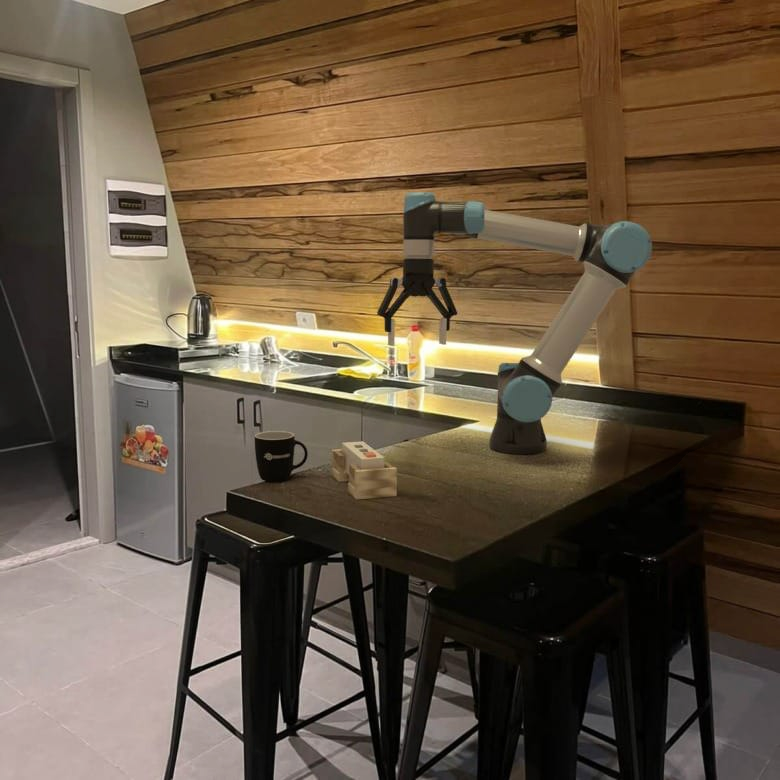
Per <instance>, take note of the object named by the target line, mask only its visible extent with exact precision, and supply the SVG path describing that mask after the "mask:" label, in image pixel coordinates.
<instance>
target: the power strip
mask: <svg viewBox="0 0 780 780" xmlns="http://www.w3.org/2000/svg"><path fill="white" fill-rule="evenodd" d="M341 449H342V454H343V455H344V471H345V472H346V473H348V474H349V465H350V464H354V465H355V466H356V467H357V468H359V469H360V470H367V469H380V468H384V462H385V456H384V455H382V454H380V453H379V452H378V451H376V450H375V449H374V448H372V447H371V446H369V445H368V444H367V443H366V442H365V441H363V440H362V441H349V442H346V441H345V442H341Z"/></svg>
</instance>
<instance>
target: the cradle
mask: <svg viewBox="0 0 780 780" xmlns="http://www.w3.org/2000/svg"><path fill="white" fill-rule="evenodd" d="M331 476H332V477H333V478H334V479H335V480H336V481H337V482H338V483H341V482H347V493H349V495H351V496H352V497H353V498H354V499H355V500H356V501H357V500H366V499H367V500H368V499H376V498H378V499H379V498H388V497H389V498H391V497H397V494H398V492H397V491H398V490H397V488H398V485H397V484H398V482H397V481H398V468H397V467H395V466H393V465H391V463H389V462H388V461H384V468H380V469H367V470H360V469H359V468H357V467H356V466H355V465H354V464H350V465H349V474H348V473H346V472H345V471H344V455H343V454H342V448H339V449H331Z"/></svg>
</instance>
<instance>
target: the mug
mask: <svg viewBox="0 0 780 780" xmlns="http://www.w3.org/2000/svg"><path fill="white" fill-rule="evenodd" d="M296 445H299V446H300V447H302V449H303V451H304V456H303V459H302V460H301V461H300V462H299V463H297V464H294V457H295V447H296ZM254 451H255V460H256V461H255V462H256V468H257V471H258V475H259V477H260V480H262V481H264V482H267V481H268V483H279V482H285V481H287V480H289V479H290V477H291V474H292V472H293V471H294V470H296V469H299V468H300V467H302V466H303V465H305V463H306V462H307V460H308V454H309V453H308V449H307V447H306V445H305V444H304V443H303V442H301V441H299V440H297V439H295V433H293V432H289V431H284V430H283V431H282V430H268V431H262V432H261V431H260V432H258V433H256V434H255V435H254Z"/></svg>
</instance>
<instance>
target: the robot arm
mask: <svg viewBox="0 0 780 780" xmlns="http://www.w3.org/2000/svg"><path fill="white" fill-rule="evenodd" d="M403 200H404V201H403V213H402V214H403V225H402V226H403V242H402V243H403V245H402V246H403V247H402V248H403V249H402V253H403V254H402V255H403V256H404V257H405V258H403V261H402V278H398V277H391V278H390V280H389V287H388V289H387V292H386V293H385V295H384V297H383V299H382V302H381V304H380V306H379V307H378V309H377V312H376V314H377V316H379V317H381V318H383V319H384V331H385V333H386V332H387V345H388V346H390V347H394V346H395V343H396V342H395V339H396V338H395V335H396V334H395V331H396V329H395V327H396V326H395V325H396V321H395V319H394V318H393V317H394V316H395V314H396V313H397V311H398V310H399V309H400V308H401V306H402V305H403V304H404V303H405V302H406V300H407V299H409V297H427V298H428V299H429V300H430V301H431V303H432V304H433V305H434V307H435V308H436V310H438V312H439V313H440V315H441V316H442V317H439V336H438V337H439V338H438V342H439V344H440V345H442V346H443V345H445V346H446V345H447V332H449V331H450V329H451V328H450V327H451V326H450V325H451V324H450V323H451V319H452V317H453V316H457V315H458V310H457V308H456V306H455V304H454V301H453V299H452V297H451V295H450V292H449V289H448V288H447V280H446V278H445V277H438V278H434V273H435V270H434V269H435V267H434V266H435V261H434V259H433V257H434V256H435V234H451V235H453V236H456V237H467V238H471V239H479V240H485V241H490V242H494V243H495V242H496V243H500V244H505V245H511V246H515V247H521V248H527V249H532V250H533V249H534V250H537V251H538V250H539V251H542V252H548V253H554V254H558V255H564V256H565V255H566V256H570V257H573V259H574V261H576V262H579V263H580V262H581V263H583V266H584V272H583V274H582V276H581V277H580V279H579V281H578V282H577V284H576V285H575V287H574V288H573V289H572V292H571V293H570V294H569V296H568V297H567V299H566V301H565V302H564V303H563V305H562V307H561V308H560V310H559V312H558V313H557V315H556V316H555V317H554V319H553V321H552V322H551V323H550V325H549V327H548V328H547V329H546V331H545V333H544V334H543V335H542V337H541V339H540V341H539V342H538V344H537V345H536V347H535V348H534V350H533V352H532V353H531V354H530V355H529V356H524V357H521V359H520V360H519V362H502V363H500V364H499V365H498V371H497V378H498V379H497V403H496V406H497V407H496V408H497V410H496V420H495V423H494V426H493V428H492V431H491V434H490V436H489V448H490V449H492V450H493V451H496V452H500V453H504V454H510V455H511V454H513V455H533V454H534V455H535V454H540V453H544V452H545V451H547V444H548V441H547V437H546V434H545V430H544V426H543V424H542V419H543V418H544V417H546V415H547V414H548V413H549V412H550V409H551V407H552V405H553V403H552V402H553V398H554V396H555V395H556V393H557V392H558V391H559V389H560V387H562V384H563V380H562V373H563V372H564V371H565V370H564V369H565V368H566V367H567V366H568V363H569V362H570V361H571V359H572V357H574V354H575V353H576V352H577V350H578V348H579V347H580V345H581V344H582V342H583V341H584V340H585V338H586V336H587V335H588V333H589V332H590V330H591V329H592V327H593V325H594V324H595V323H596V321H597V319H598V318H599V317H600V315H601V314H602V312H603V310H604V309H605V307H606V306H607V304H608V303H609V301H610V300H611V298H612V297H613V295H614V294H615V292H616V291H617V290H621V289H624V288H626V287H627V286H628V284H629V283H630V281H631V280H632V279H633V277H634V276H635V274H636V272H638V271H639V270H640V269H642V268H644V266H645V265H646V264H647V263H648V261H649V259H650V257H651V255H652V250H653V243H652V239H651V236H650V234H649V232H648V230H646V229H645V228H644V227H643V226H641V224H638V223H635V222H632V221H628V220H623V221H617V222H615V223H613V224H612V223H610V224H604V225H603V224H589V223H585V222H584V223H583V224H581V225H579V226H577V225H573V224H567V223H562V222H561V223H560V222H556V221H551V220H546V219H539V218H533V217H527V216H523V215H517V214H511V213H506V212H500V211H494V210H489V209H486V208H485V204H484V203H483V201H482V202H481V201H472V200H471V201H470V200H469V201H438V200H436V194H434V193H433V192H423V191H421V192H420V191H417V192H416V191H415V192H408V193H406V195H405V196H404V199H403ZM434 285H435V286H436V287H437V288H438V291H439V293H440V295H441V298H442V299H443V302H444V303H442V301H441V300H440V299H439V297H438V296H437V294H436V293H435V291H434V290H433V287H434ZM400 286H402V287H403V289H402V291H401V292H400V294H399V295H398V297H397V298H396V299H395V301H394V302H393V303H392V304H391V302H392V300H393V298H394V296H395V294H396V292H397V290H398V288H400ZM444 304H445V305H444ZM390 305H391V306H390ZM389 306H390V307H389Z"/></svg>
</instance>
